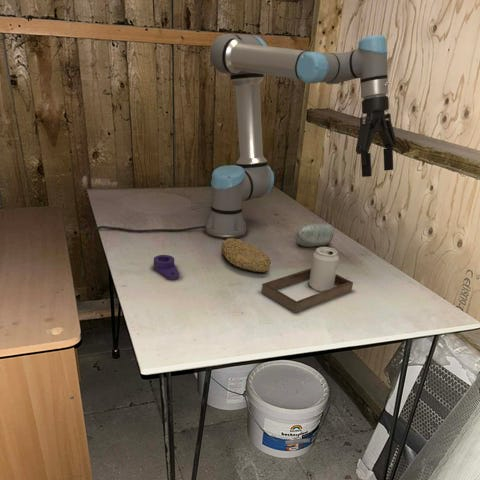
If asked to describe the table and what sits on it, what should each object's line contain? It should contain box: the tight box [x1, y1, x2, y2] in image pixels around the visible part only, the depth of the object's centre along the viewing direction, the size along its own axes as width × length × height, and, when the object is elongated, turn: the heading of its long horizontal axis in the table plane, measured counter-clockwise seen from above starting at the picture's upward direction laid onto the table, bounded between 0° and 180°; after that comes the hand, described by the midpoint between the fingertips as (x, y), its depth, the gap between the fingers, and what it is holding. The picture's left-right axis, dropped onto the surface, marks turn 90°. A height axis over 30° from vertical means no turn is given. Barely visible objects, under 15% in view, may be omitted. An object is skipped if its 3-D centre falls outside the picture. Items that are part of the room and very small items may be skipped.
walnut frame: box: [261, 267, 354, 314], centre depth 141 cm, size 24×14×3 cm, turn 129°
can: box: [308, 246, 340, 292], centre depth 142 cm, size 8×8×12 cm
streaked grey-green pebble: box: [295, 221, 335, 248], centre depth 172 cm, size 14×10×10 cm
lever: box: [153, 254, 180, 281], centre depth 146 cm, size 12×6×3 cm, turn 29°
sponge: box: [221, 238, 272, 273], centre depth 154 cm, size 13×8×20 cm
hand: (378, 173), depth 145 cm, fingers open, 13 cm apart
